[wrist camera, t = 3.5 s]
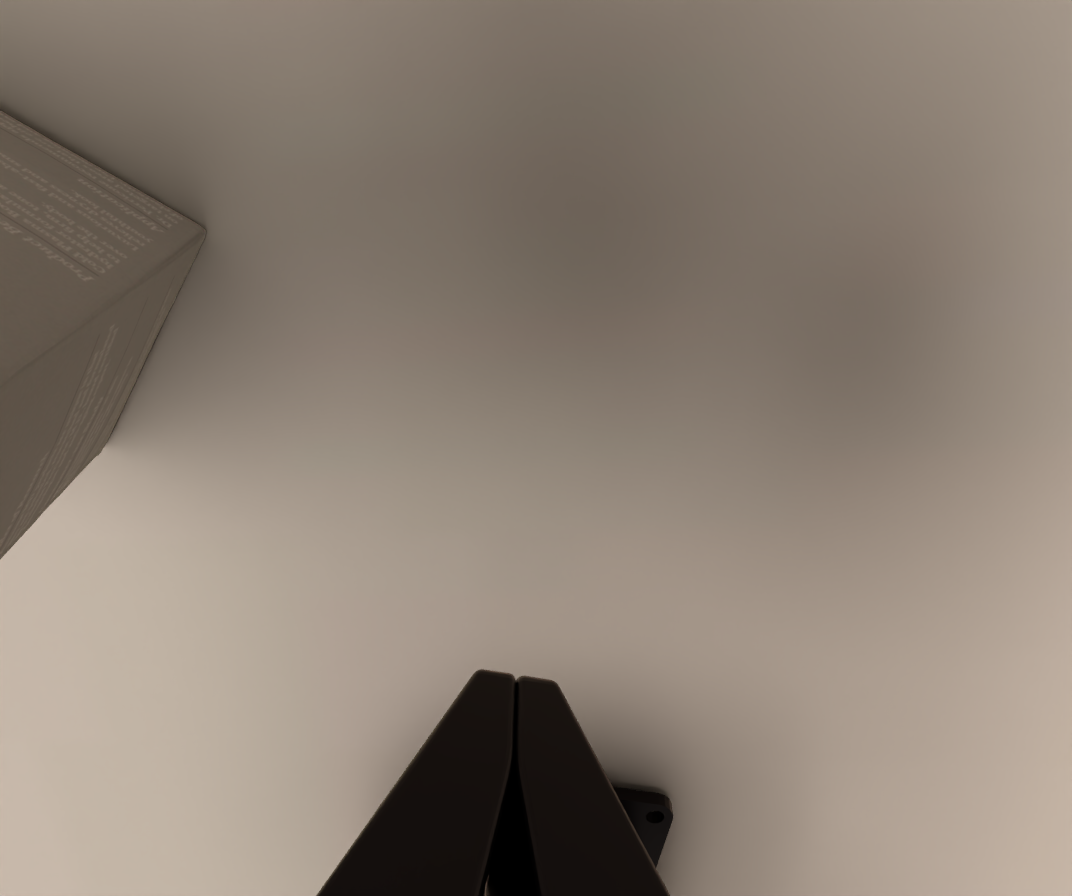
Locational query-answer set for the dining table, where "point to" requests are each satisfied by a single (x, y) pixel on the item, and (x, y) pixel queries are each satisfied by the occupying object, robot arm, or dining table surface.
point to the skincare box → (73, 311)
